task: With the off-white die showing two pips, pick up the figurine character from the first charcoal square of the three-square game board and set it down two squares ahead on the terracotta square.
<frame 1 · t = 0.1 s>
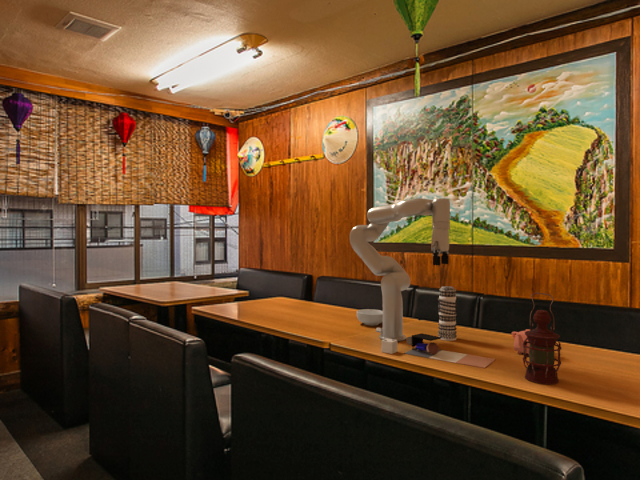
hand: (440, 264, 196), 37 cm above the table, tool pointing down, fingers open, 9 cm apart
die: (389, 351, 188), on the table
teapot: (528, 354, 185), on the table
lantern: (541, 380, 152), on the table
cereal bowl: (371, 324, 245), on the table
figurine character: (423, 352, 187), resting on game board
game board: (448, 356, 180), on the table
decorative candle: (447, 338, 211), on the table
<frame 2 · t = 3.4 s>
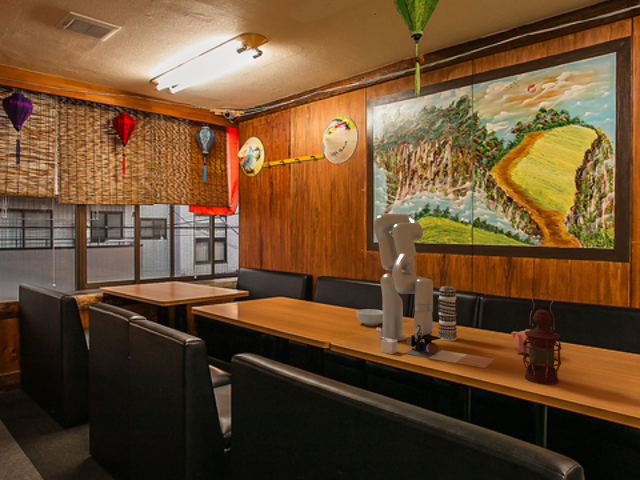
hand: (423, 348, 187), 2 cm above the table, tool pointing down, fingers closed on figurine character, 8 cm apart
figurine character: (423, 352, 187), resting on game board, touching gripper
everything else where it was.
when the fingers open (3 cm above the table, at t = 10.3 s): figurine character drops 1 cm, resting on game board.
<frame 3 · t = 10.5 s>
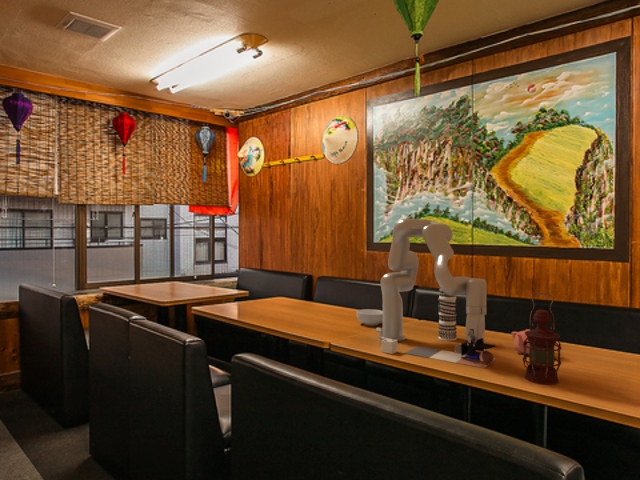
hand: (475, 353, 173), 3 cm above the table, tool pointing down, fingers open, 9 cm apart
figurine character: (474, 361, 174), resting on game board
everything else where it was.
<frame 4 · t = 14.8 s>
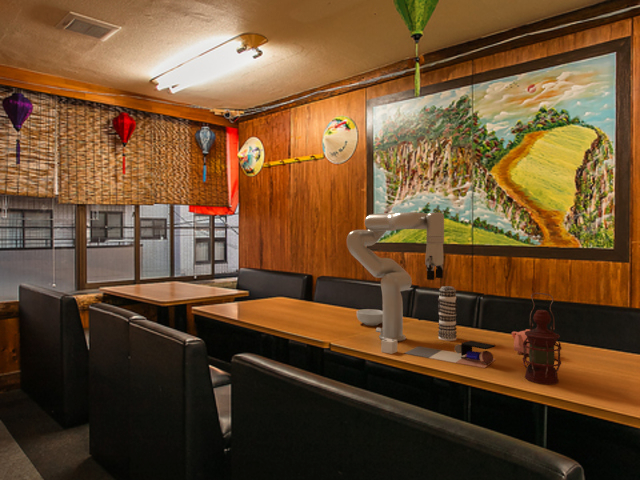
hand: (434, 278, 196), 30 cm above the table, tool pointing down, fingers open, 9 cm apart
nothing on the table moved.
at the end: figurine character inside the target area on the game board (0.4 cm from its centre), point 0.1 cm above the game board's base; the gripper is holding nothing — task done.
